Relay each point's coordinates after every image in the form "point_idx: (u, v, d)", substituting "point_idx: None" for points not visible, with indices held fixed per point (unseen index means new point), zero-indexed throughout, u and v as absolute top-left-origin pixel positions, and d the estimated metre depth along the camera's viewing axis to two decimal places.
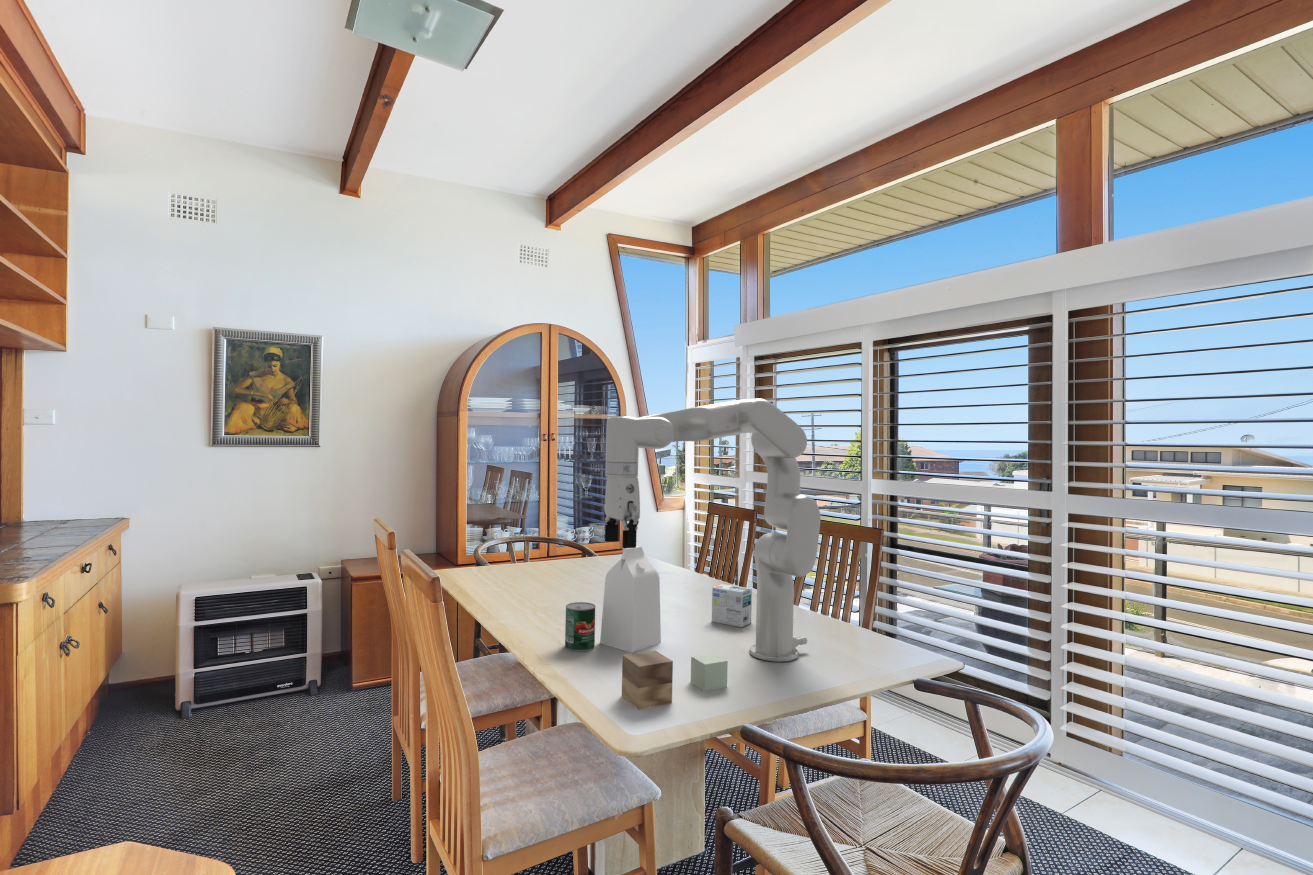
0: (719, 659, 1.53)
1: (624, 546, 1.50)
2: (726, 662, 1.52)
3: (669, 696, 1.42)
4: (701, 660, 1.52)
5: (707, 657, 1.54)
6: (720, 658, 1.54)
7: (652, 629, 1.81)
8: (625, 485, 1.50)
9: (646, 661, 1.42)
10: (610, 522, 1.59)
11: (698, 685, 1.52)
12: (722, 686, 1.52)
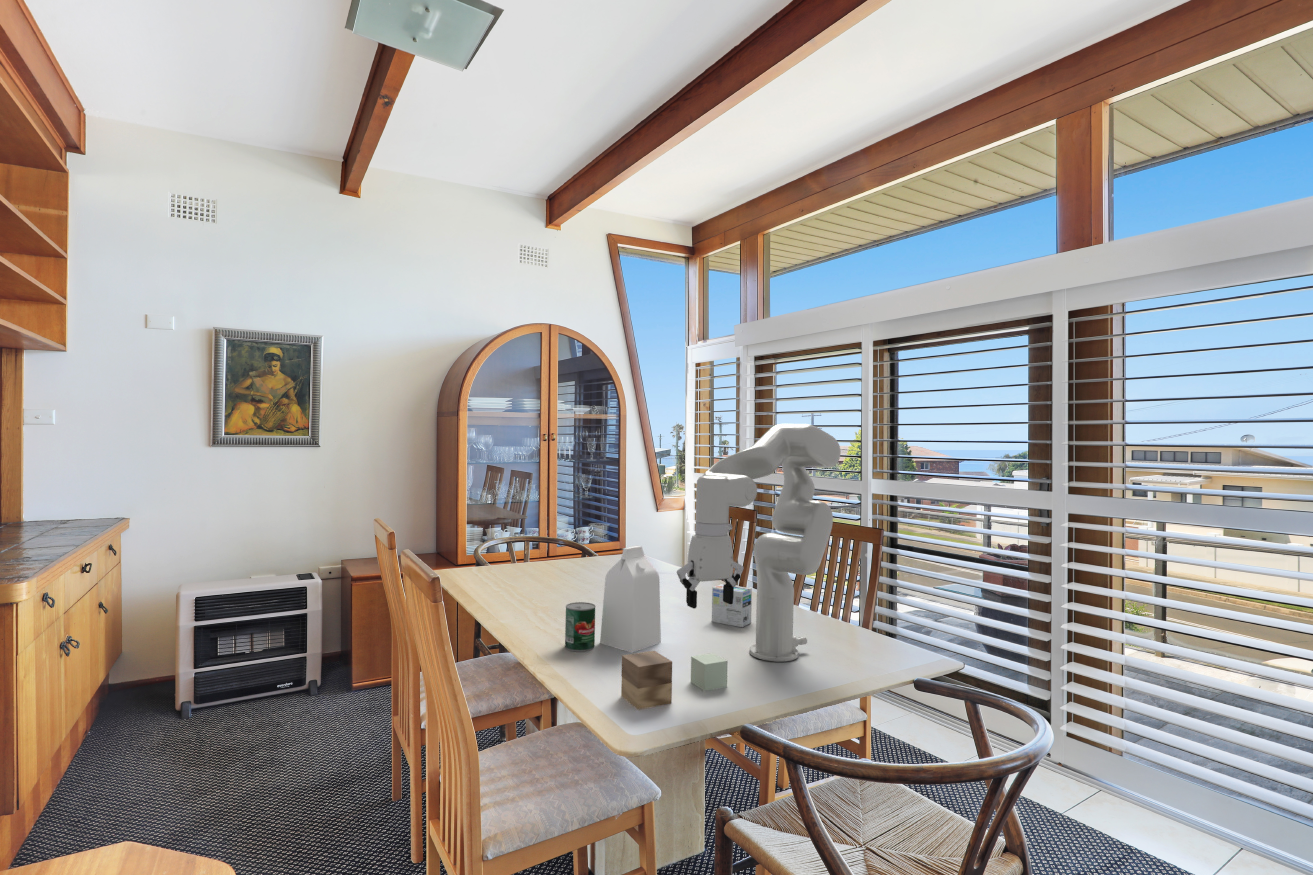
0: (719, 659, 1.53)
1: None
2: (726, 662, 1.52)
3: (669, 696, 1.42)
4: (701, 660, 1.52)
5: (707, 657, 1.54)
6: (720, 658, 1.54)
7: (652, 629, 1.81)
8: None
9: (645, 661, 1.42)
10: None
11: (698, 685, 1.52)
12: (722, 686, 1.52)
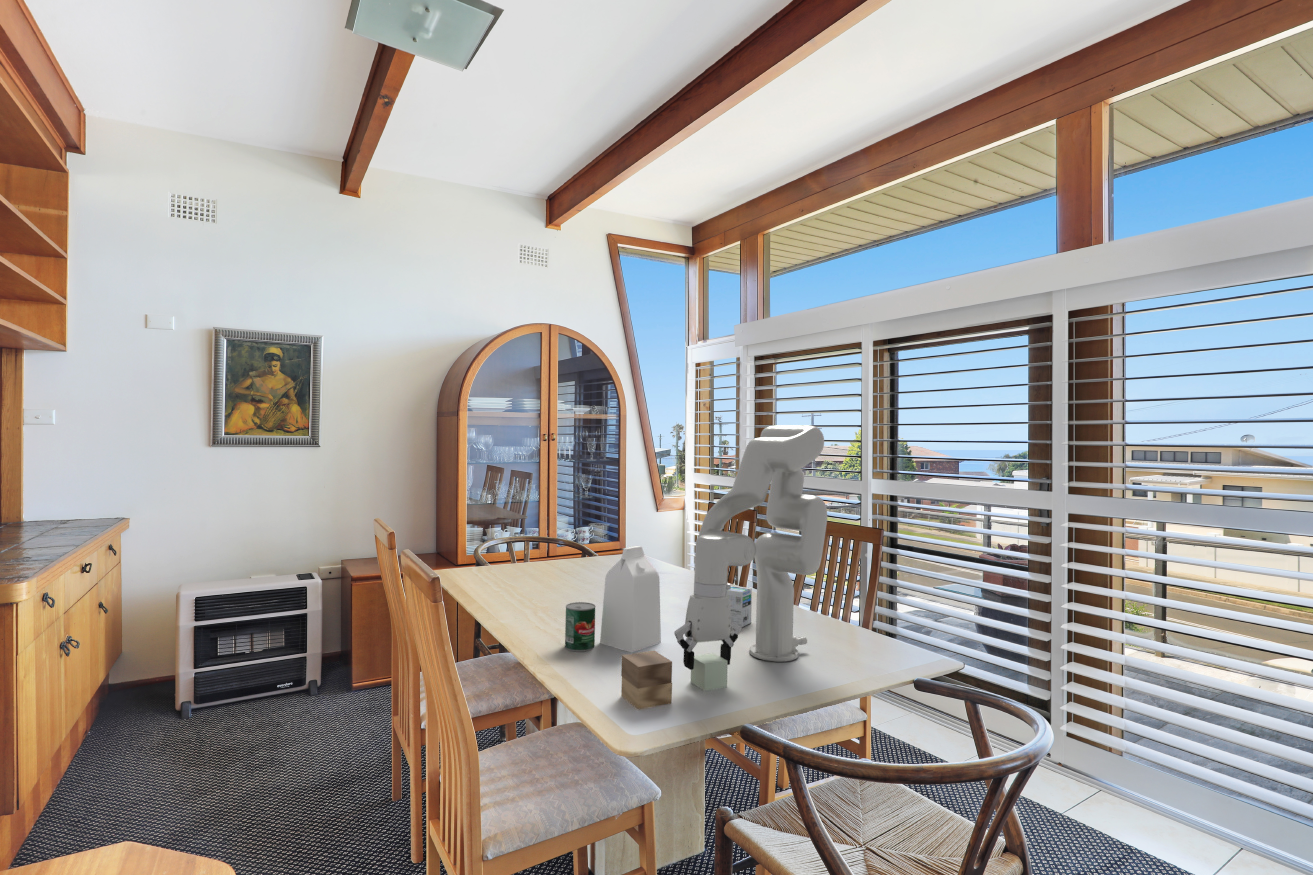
0: (719, 659, 1.53)
1: None
2: (726, 662, 1.52)
3: (669, 696, 1.42)
4: (701, 660, 1.52)
5: (707, 657, 1.54)
6: (720, 658, 1.54)
7: (652, 629, 1.81)
8: None
9: (645, 661, 1.42)
10: None
11: (698, 685, 1.52)
12: (722, 686, 1.52)
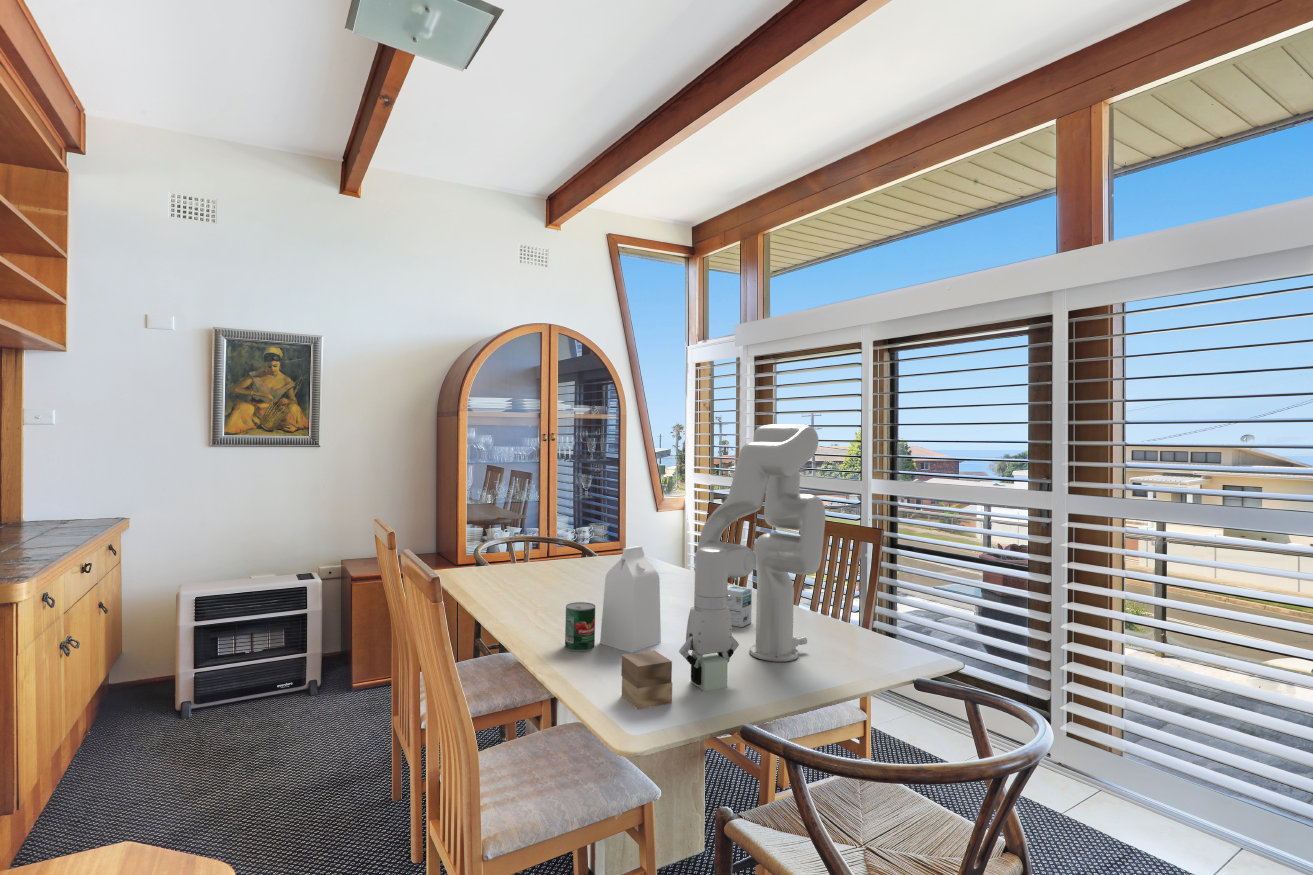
0: (719, 659, 1.53)
1: None
2: (726, 662, 1.52)
3: (669, 696, 1.42)
4: (701, 660, 1.52)
5: (707, 657, 1.54)
6: (720, 658, 1.54)
7: (652, 629, 1.81)
8: None
9: (645, 661, 1.42)
10: None
11: (698, 685, 1.52)
12: (722, 686, 1.52)
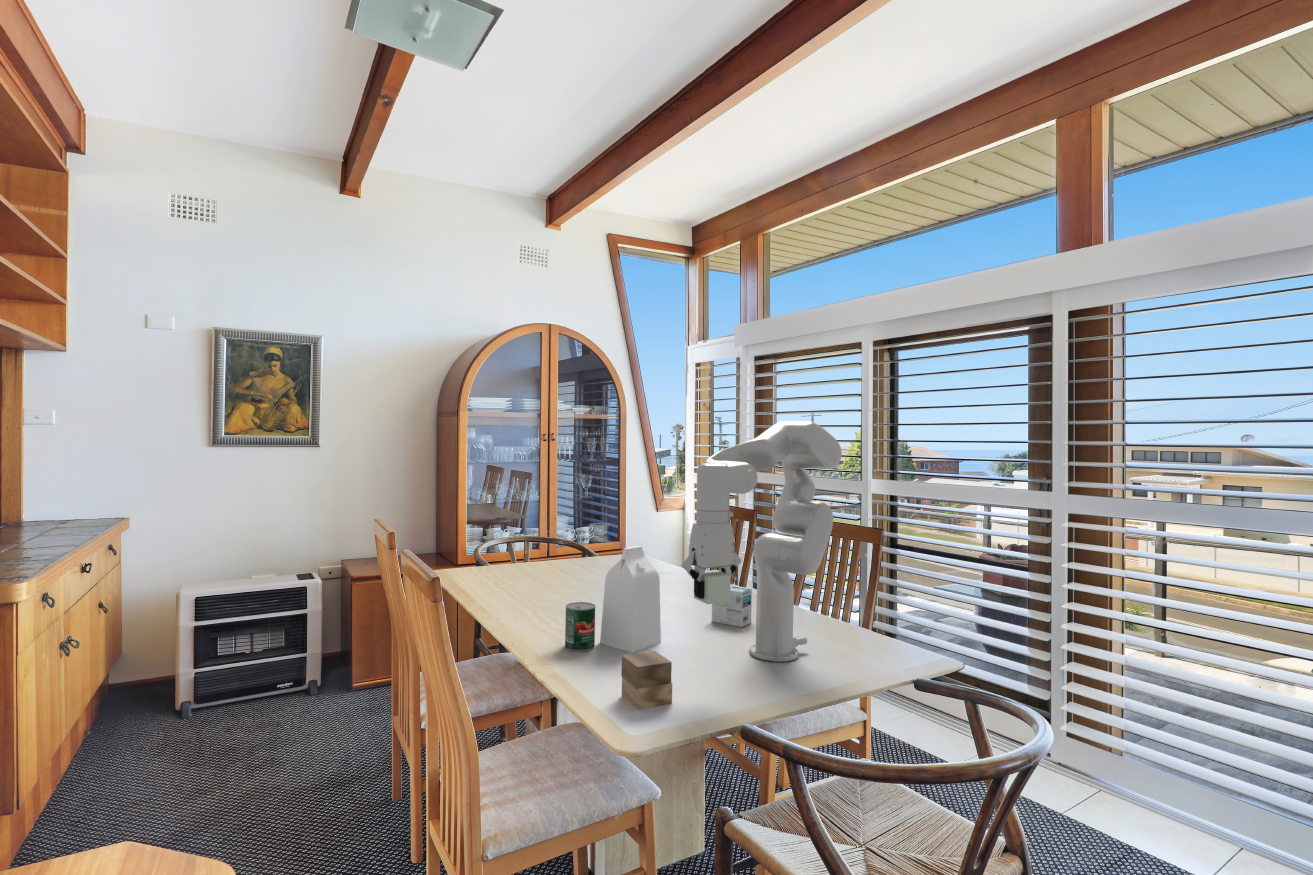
0: (722, 574, 1.53)
1: None
2: (729, 576, 1.52)
3: (669, 697, 1.42)
4: (704, 574, 1.52)
5: (710, 573, 1.54)
6: (723, 573, 1.54)
7: (652, 629, 1.81)
8: None
9: (644, 661, 1.42)
10: None
11: (701, 599, 1.52)
12: (725, 600, 1.52)
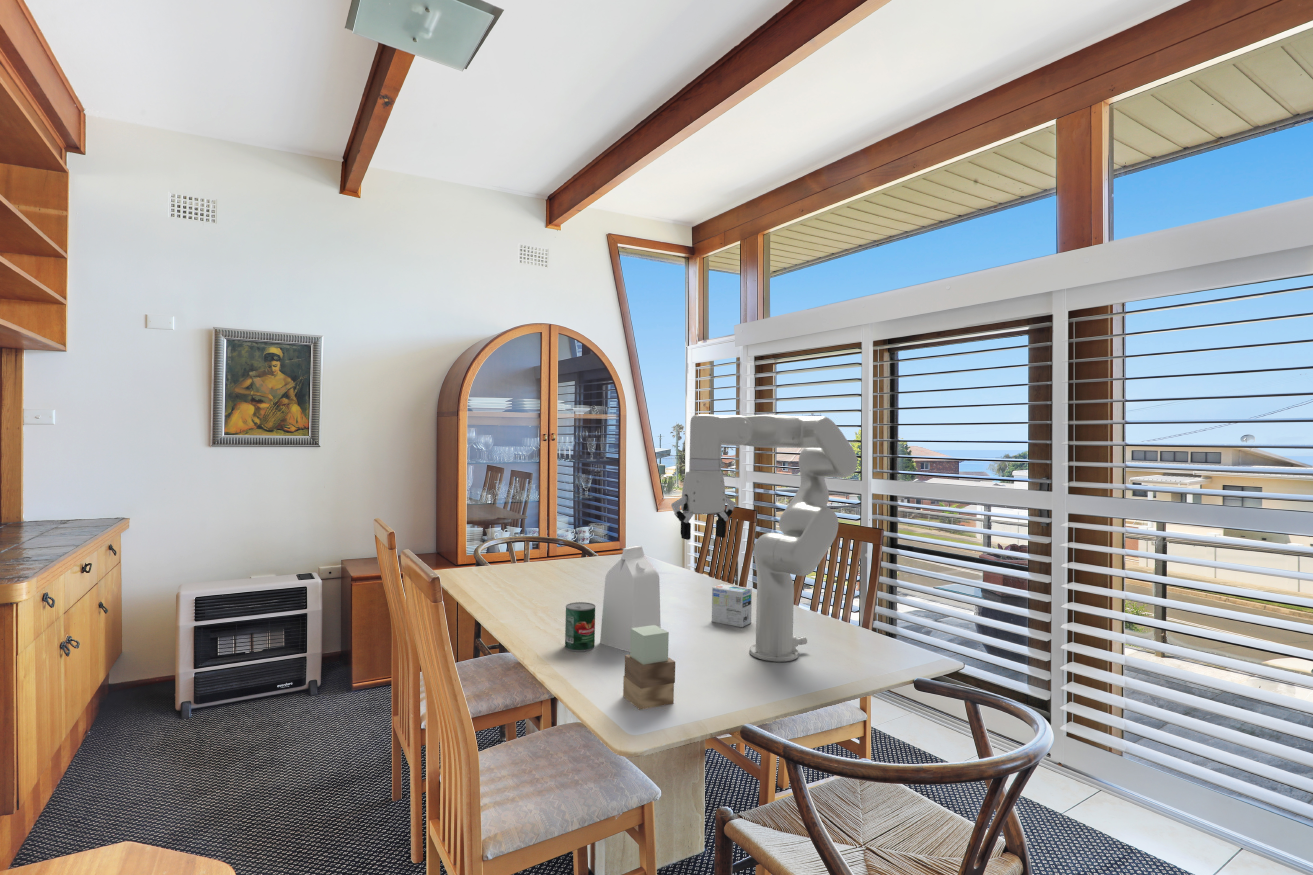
0: (660, 631, 1.43)
1: None
2: (667, 634, 1.42)
3: (671, 696, 1.42)
4: (640, 632, 1.42)
5: (647, 629, 1.44)
6: (661, 630, 1.44)
7: None
8: None
9: None
10: None
11: (637, 658, 1.42)
12: (663, 659, 1.42)
